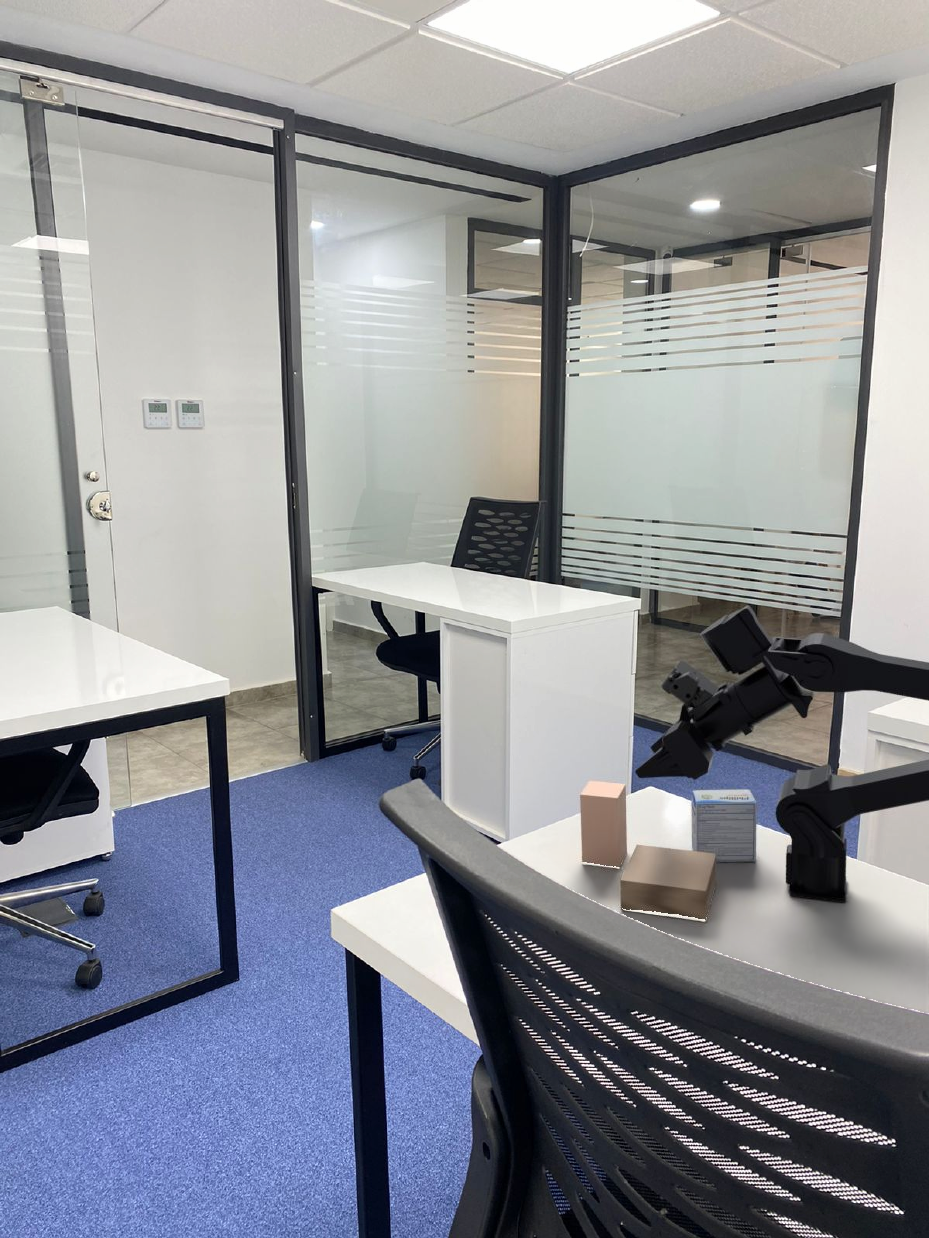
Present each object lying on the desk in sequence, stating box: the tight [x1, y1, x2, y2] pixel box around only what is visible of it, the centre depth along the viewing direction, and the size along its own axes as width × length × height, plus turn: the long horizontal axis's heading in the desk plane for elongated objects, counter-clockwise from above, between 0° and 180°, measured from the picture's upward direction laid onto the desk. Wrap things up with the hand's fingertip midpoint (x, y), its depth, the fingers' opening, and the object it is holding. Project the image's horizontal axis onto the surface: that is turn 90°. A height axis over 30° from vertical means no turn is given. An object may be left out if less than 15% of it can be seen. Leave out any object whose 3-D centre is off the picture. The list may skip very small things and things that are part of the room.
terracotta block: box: [579, 780, 628, 868], centre depth 124 cm, size 5×5×10 cm
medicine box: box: [690, 789, 758, 863], centre depth 123 cm, size 8×4×9 cm, turn 84°
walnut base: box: [620, 844, 717, 921], centre depth 114 cm, size 10×10×4 cm
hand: (645, 761), depth 120 cm, fingers open, 9 cm apart
